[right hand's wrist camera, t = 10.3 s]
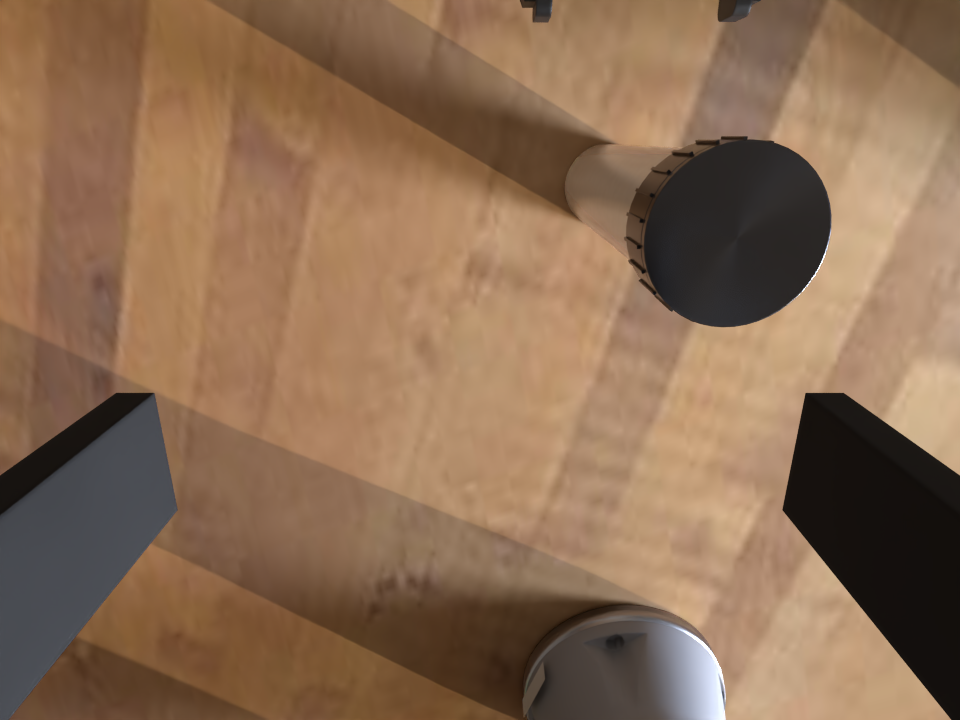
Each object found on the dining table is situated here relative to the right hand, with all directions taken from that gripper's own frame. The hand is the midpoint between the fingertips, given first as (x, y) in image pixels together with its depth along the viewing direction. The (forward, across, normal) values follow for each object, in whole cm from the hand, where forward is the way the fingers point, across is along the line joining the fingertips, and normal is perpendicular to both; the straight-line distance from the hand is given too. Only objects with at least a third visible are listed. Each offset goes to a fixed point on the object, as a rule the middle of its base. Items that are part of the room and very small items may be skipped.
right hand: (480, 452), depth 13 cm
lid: (+7, +7, +3) cm, 10 cm away
